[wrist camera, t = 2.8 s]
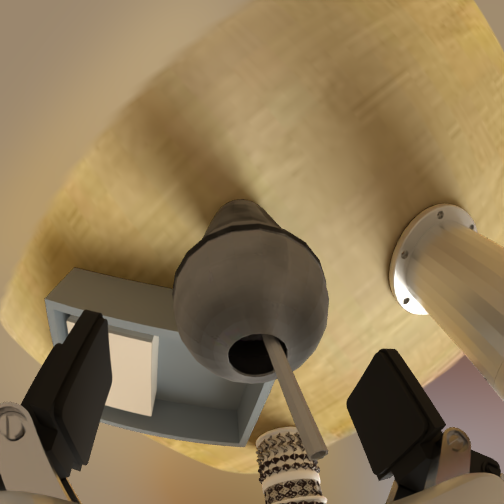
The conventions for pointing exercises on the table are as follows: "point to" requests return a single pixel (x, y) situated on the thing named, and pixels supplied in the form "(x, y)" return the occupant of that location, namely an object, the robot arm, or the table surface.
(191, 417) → the tray
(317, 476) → the decorative candle
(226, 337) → the beverage cup
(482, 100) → the table surface
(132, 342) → the beige rectangular block
